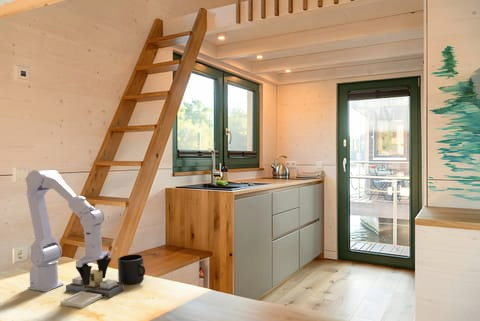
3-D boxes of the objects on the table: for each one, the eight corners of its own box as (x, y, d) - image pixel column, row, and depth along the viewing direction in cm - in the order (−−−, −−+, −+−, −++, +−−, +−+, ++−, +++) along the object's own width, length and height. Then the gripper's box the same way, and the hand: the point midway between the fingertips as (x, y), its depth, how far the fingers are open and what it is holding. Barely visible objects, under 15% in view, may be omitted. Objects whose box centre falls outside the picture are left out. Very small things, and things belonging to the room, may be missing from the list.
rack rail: (65, 290, 132) (65, 280, 132) (81, 284, 139) (81, 273, 139) (109, 297, 125) (109, 286, 125) (123, 290, 132) (123, 279, 131)
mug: (136, 287, 134) (135, 263, 134) (113, 282, 140) (112, 259, 140) (153, 279, 143) (153, 256, 142) (131, 275, 148) (130, 253, 148)
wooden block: (86, 292, 131) (85, 272, 131) (94, 288, 135) (94, 269, 134) (94, 293, 129) (94, 273, 129) (103, 289, 133) (102, 270, 133)
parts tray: (60, 304, 120) (60, 301, 120) (81, 294, 128) (81, 291, 128) (81, 308, 117) (81, 304, 117) (101, 297, 125) (101, 294, 125)
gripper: (86, 249, 124) (87, 289, 124) (116, 239, 137) (117, 275, 137) (70, 248, 126) (72, 287, 126) (101, 238, 140) (102, 274, 140)
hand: (94, 281), depth 132 cm, fingers open, 7 cm apart
